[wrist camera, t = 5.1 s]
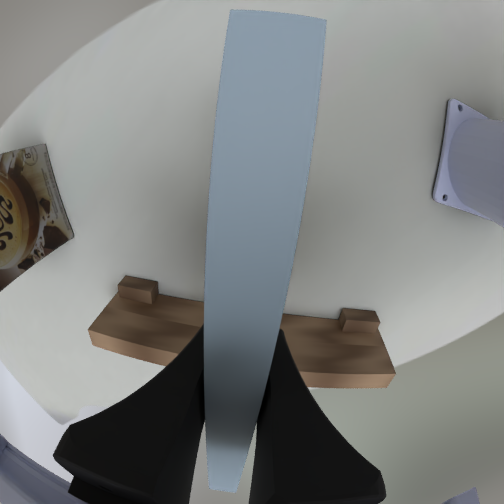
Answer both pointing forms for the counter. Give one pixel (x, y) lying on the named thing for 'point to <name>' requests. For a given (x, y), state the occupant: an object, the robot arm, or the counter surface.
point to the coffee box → (28, 212)
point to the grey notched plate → (254, 217)
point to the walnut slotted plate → (295, 328)
